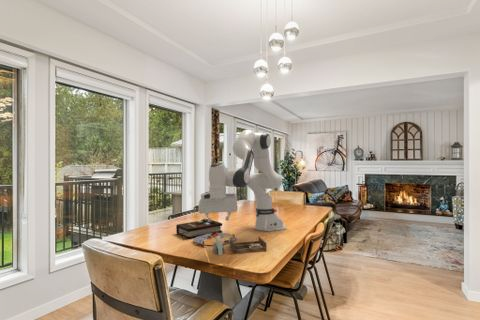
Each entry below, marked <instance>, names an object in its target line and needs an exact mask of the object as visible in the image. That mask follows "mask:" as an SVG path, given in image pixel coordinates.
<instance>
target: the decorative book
mask: <svg viewBox="0 0 480 320" xmlns="http://www.w3.org/2000/svg"><path fill="white" fill-rule="evenodd" d="M175 226H176V233H175V234H176V235H177V234H178V235H177V236H179V235H180V237H182V238H183V239H186V240H188V239H189V240H192V239H193V238H196V237H198V236H201V235H204V234H211V233H213V232H217V233H223V230H221V228H222V226H223V222H219V221H215V220H213V219H211V222H208V218H207V217H206V218H202V219H201V220H197V221H192V222H191V221H190V222H184V223H179V224H178V223H177V224H176V225H175ZM193 240H194V239H193Z"/></svg>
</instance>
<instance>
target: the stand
mask: <svg viewBox="0 0 480 320" xmlns="http://www.w3.org/2000/svg"><path fill="white" fill-rule="evenodd" d="M212 247H213V248H212V250H213V252H214V254H215V255H217V254H218V252H217V248H216V245H215V244H212ZM225 253H226V252H225V247H224V244H222V254H225Z"/></svg>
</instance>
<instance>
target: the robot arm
mask: <svg viewBox="0 0 480 320" xmlns="http://www.w3.org/2000/svg"><path fill="white" fill-rule="evenodd" d="M271 144H272V140H271V135H270V134H268V132H254V131H252V130H250V129H244V130H242V132H241V133H240V134H239V135H238V136H237V138H236V140H235V141H234V143H233V145H232V152H233V154H234V155H235V156H236V157H237V158H238V159H241V160H242V164H241V167H238V168H228V167H226V164H225V163H224V162H214V163H212V164H211V165H209V169H208V172H209V173H208V182H209V186H208V187H209V188H208V189H209V190H207V191H205V192H203V193H201V194H200V199H199V201H198V209H197V210H198V213H199V214H205V217H206V219H208V222H211V220H212V219H211V217H209V214H215V213H227V215H226V216H225V221H230V216H231V215H232V212H237V211H238V209H239V208H238V203H237V201H238V195H237V194H236V193H227V187H229V188H231V187H233V188H241V189H243V188H245V187H246V186H247V187H248V188H250V190H251V191H253V193H254V196H255V206H256V207H255V218H256V219H255V222H254V223H255V224H254V229H255V230H257V231H265V232H273V231H281V230H287V226H286V225H285V224H284V221H283V219H282V218H281V217H280V216H279V215H278V214H276V213H277V211H278V210H277V209H276V208H273V199H272V196H271V195H270V194H269V193H266V192H265V189H266V190H270V189H271V190H274V189H279V188H280V187H281V186H282V183H283V178H282V176H281V175H280V174H279V173H277V171H275V170H274V169H273V167H272V164H271V159H270V152H269V148H270V146H271ZM252 165H253V167H255V169H256V170H258V171H260V172H253V173H251V170H252Z"/></svg>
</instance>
